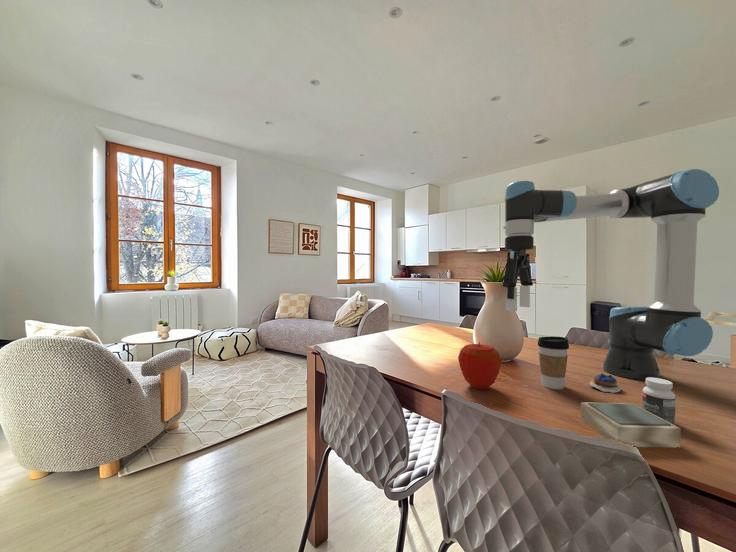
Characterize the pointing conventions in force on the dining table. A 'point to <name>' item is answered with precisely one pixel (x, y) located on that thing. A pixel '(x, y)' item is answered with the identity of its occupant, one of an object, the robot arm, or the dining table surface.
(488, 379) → the apple
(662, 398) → the pill bottle
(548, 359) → the coffee cup
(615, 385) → the dessert
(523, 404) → the dining table surface
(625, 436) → the tray
